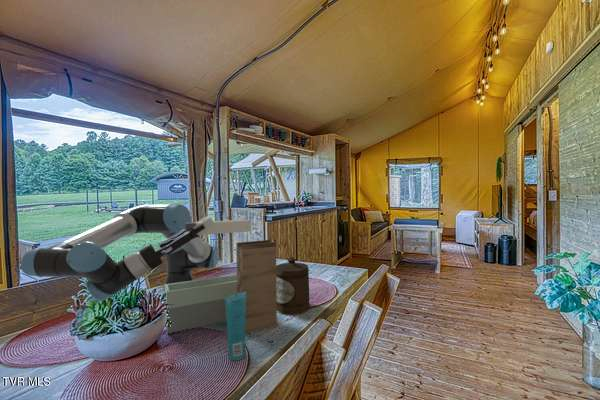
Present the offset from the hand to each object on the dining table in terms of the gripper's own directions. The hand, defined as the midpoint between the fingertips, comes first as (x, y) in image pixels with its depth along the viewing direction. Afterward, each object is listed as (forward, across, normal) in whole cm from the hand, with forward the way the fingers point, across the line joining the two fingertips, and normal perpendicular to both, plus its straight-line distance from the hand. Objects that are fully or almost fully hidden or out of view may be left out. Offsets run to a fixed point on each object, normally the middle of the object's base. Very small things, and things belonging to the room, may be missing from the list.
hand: (210, 219), depth 99 cm
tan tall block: (-6, 0, -44) cm, 44 cm away
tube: (-17, +16, -37) cm, 44 cm away
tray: (-19, -15, -36) cm, 43 cm away
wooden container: (+11, -9, -54) cm, 55 cm away
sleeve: (0, 0, -6) cm, 6 cm away
